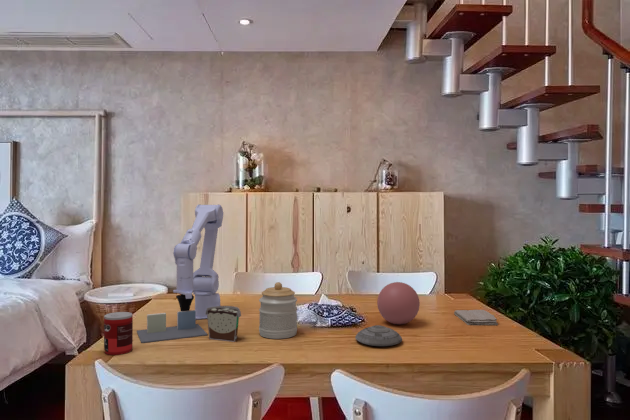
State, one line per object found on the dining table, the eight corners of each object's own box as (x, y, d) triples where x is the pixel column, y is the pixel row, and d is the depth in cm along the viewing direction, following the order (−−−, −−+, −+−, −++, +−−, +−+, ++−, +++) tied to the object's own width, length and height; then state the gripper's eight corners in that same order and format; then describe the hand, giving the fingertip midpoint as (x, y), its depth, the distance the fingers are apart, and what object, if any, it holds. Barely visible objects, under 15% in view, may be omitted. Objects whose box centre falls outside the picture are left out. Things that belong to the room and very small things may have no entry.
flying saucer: (391, 352, 142) (391, 334, 141) (347, 344, 149) (347, 327, 149) (409, 340, 154) (409, 323, 154) (367, 333, 162) (367, 317, 162)
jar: (267, 341, 151) (267, 286, 151) (253, 331, 163) (253, 280, 163) (303, 336, 157) (303, 283, 157) (287, 327, 169) (287, 278, 169)
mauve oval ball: (408, 315, 188) (408, 276, 187) (425, 328, 168) (425, 285, 168) (370, 316, 186) (370, 277, 186) (383, 329, 166) (383, 286, 166)
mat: (197, 324, 172) (197, 323, 172) (207, 335, 158) (207, 334, 158) (136, 331, 162) (136, 330, 162) (141, 343, 149) (141, 342, 149)
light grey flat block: (194, 326, 167) (194, 310, 167) (195, 327, 166) (195, 310, 166) (177, 328, 165) (177, 311, 165) (178, 329, 163) (178, 312, 163)
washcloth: (468, 327, 172) (468, 318, 172) (452, 315, 190) (452, 307, 190) (500, 327, 173) (500, 318, 173) (482, 315, 191) (482, 307, 190)
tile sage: (165, 330, 163) (165, 312, 163) (166, 331, 162) (166, 313, 162) (147, 332, 160) (147, 314, 160) (147, 333, 159) (147, 315, 159)
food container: (247, 337, 156) (247, 307, 156) (238, 342, 151) (238, 311, 150) (215, 333, 160) (215, 304, 160) (205, 338, 155) (205, 308, 154)
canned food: (109, 347, 144) (109, 311, 144) (136, 347, 145) (135, 311, 145) (99, 355, 137) (99, 318, 137) (128, 355, 137) (128, 317, 137)
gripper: (170, 275, 172) (170, 312, 172) (177, 281, 159) (176, 321, 159) (189, 273, 175) (189, 310, 175) (198, 279, 162) (197, 319, 162)
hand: (184, 315), depth 167 cm, fingers closed
